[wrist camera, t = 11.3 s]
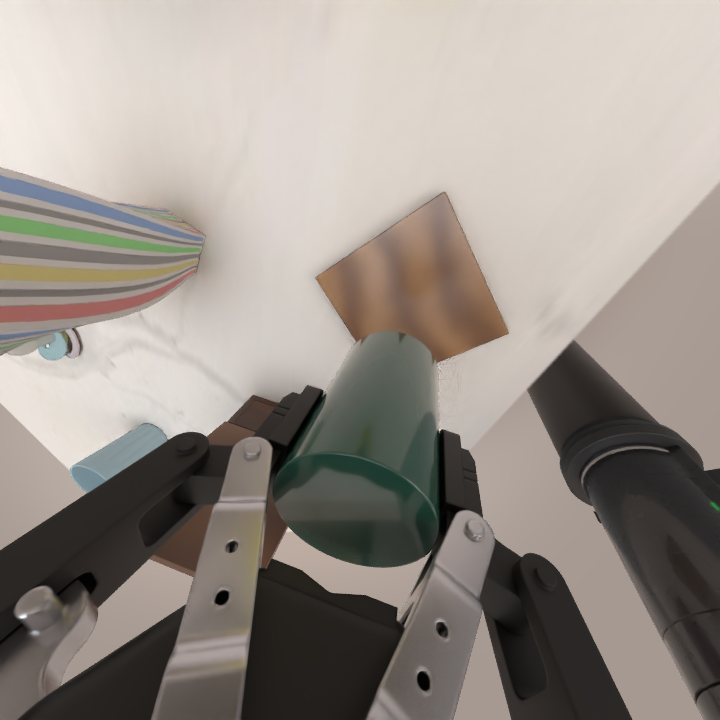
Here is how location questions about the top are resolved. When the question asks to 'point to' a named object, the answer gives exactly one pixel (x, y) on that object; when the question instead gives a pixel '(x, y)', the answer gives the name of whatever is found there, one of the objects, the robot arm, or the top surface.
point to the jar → (369, 458)
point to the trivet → (417, 285)
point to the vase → (82, 258)
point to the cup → (116, 456)
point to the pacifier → (51, 346)
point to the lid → (189, 539)
